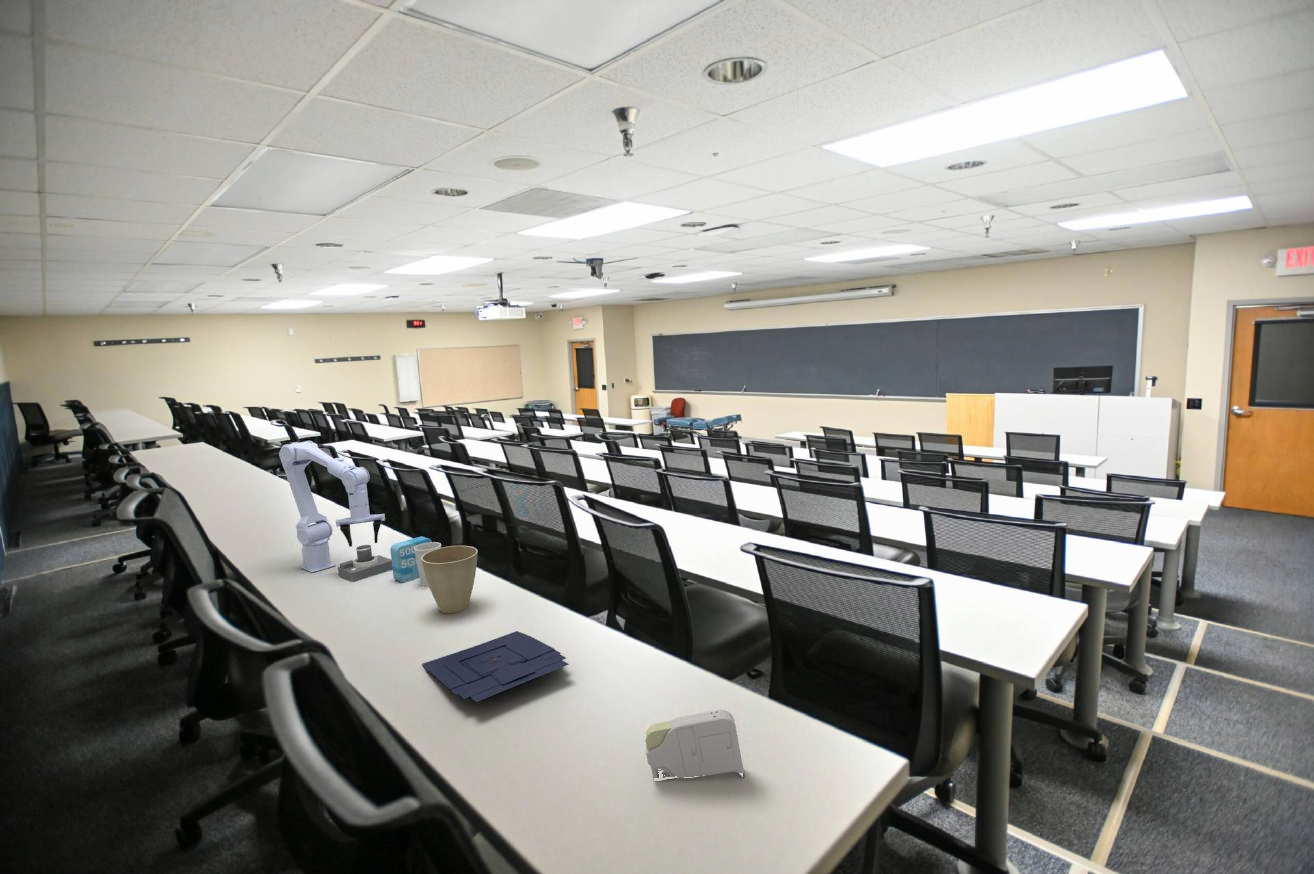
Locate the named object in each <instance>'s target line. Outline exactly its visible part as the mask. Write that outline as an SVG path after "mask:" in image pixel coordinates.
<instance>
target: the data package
mask: <svg viewBox="0 0 1314 874" xmlns="http://www.w3.org/2000/svg"><path fill="white" fill-rule="evenodd" d="M432 541H433V540H431V538H428V537H425V536H418V537H415V538H414V537H413V538H410V539H407V540H403V541H399V542H396V543H393V544H392V545H391V546H390V549H389V550H390V551H389V552H390V559H391V560H392V577H393V579H395V580H396V581H398V582H401V583H407V582H409V581H412V580H415V579H418V578H419V579H420V577H419V572H418V566H417V561H416V556H415V551H414V547H415V546H417V545H420V544H423V543H429V542H432Z"/></svg>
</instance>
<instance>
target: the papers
mask: <svg viewBox="0 0 1314 874" xmlns="http://www.w3.org/2000/svg"><path fill="white" fill-rule="evenodd" d="M566 659H567V657H565V656H564V655H563V654H562V652H560V651H558V650H556V649H555V648H554V647H552V646H549V645H548V644H546V643H545V642H542V641H540V640H538V639H536V638H535V637H533V636H530V635H528V634H526V633H523V632H520V631H519V630H516V631H513V632H510V633H508V634H504V635H501V636H499V637H497V638H494V639H491V640H489V641H485V642H482V643H480V644H478V645H475V646H471V647H468V648H466V649H462V650H459V651H457V652H454V653H451V654H447V655H445V656H441V657H438V658H435V659H433V660H429V661H426V662H423V663H422V664H421V665H422V666H423V667H424V669H426V670H427V671H428V673H431V674H432V675H433V676H434V677H435V678H437V679H438V680H439V681H440V683H442V684H443V685H444V686H445V687H446V688H448V690H449V691H451V692H452V693H453V694H454V695H459V696H460V697H461V698H463V699H464V700H465V699H468V698H471V699H472V700H473V701H475V702H476V703H478V702H480V701H482V700H485V699H487V698H489V697H493V696H495V695H497V694H499V693H501V692H504V691H507V690H509V689H511V688H514V687H516V686H519V685H521V684H524V683H526V682H528V681H531V680H533V679H536V678H538V677H541V676H544V675H546V674H549V673H551V672H554V671H556V670H558V669H561V668H564V667H567V666H569V665H570V664H569V663H568V662H566V661H564V660H566Z"/></svg>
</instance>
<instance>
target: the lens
mask: <svg viewBox="0 0 1314 874" xmlns="http://www.w3.org/2000/svg"><path fill="white" fill-rule="evenodd" d="M355 549H356V559H357V558H358V563H362V562H368V561H372V560H373V559H372V556H373V553H372V546H371V544H364V545H363V544H362V545H359V546H357V547H356V548H355Z"/></svg>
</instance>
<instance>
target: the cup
mask: <svg viewBox="0 0 1314 874" xmlns="http://www.w3.org/2000/svg"><path fill="white" fill-rule="evenodd" d="M439 548H442V544H441V542H436V541H433V542H429V543H423V544H420V545H417V546H415V547H414V551H415V556H416V561H417V566H418V572H419V582H420V583H419V584H420V586H421V587H425V588H426V587H428V588H429V585H428V582H427V579H426V576H425V572H424V568H423V564H422V560H421V557H422V556H423V555H424V554H425V553H427V552H430V551H432V550H435V549H439Z"/></svg>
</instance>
